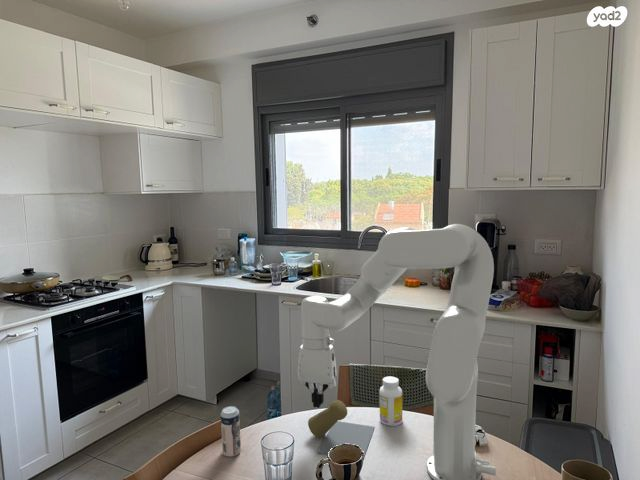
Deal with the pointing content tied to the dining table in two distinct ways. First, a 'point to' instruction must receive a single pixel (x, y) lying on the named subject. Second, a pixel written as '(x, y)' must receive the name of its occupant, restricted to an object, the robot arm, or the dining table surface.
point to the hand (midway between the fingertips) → (317, 405)
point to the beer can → (230, 431)
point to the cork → (327, 418)
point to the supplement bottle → (390, 402)
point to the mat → (347, 436)
